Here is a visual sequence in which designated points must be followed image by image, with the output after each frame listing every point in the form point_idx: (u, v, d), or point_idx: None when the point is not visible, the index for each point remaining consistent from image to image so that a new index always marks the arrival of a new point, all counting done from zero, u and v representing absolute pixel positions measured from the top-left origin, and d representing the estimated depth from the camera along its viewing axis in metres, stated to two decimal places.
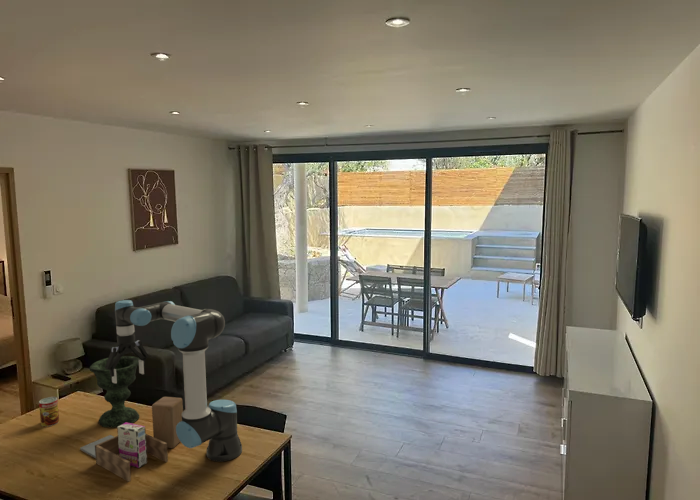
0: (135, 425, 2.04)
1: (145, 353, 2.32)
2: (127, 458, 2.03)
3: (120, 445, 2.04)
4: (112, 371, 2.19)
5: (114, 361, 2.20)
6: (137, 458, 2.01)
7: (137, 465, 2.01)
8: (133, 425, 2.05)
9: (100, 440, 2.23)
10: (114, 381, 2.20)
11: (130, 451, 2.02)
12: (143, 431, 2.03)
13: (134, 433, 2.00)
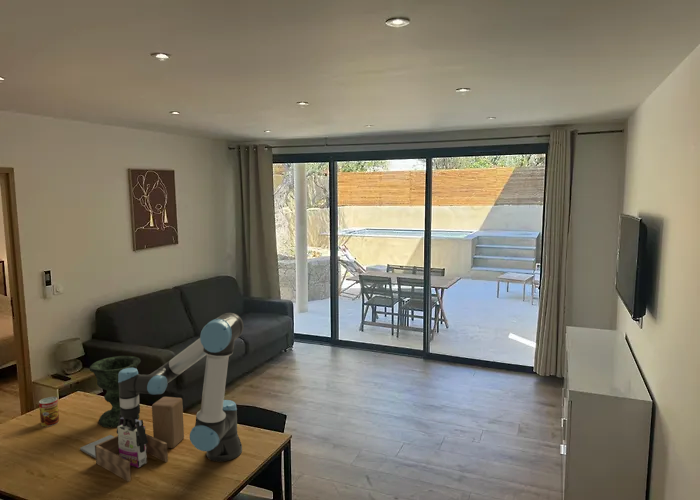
0: None
1: (140, 439, 1.99)
2: (127, 457, 2.03)
3: (120, 445, 2.04)
4: None
5: None
6: (137, 458, 2.01)
7: (137, 465, 2.01)
8: None
9: (100, 440, 2.23)
10: None
11: (130, 451, 2.02)
12: None
13: (134, 433, 2.00)
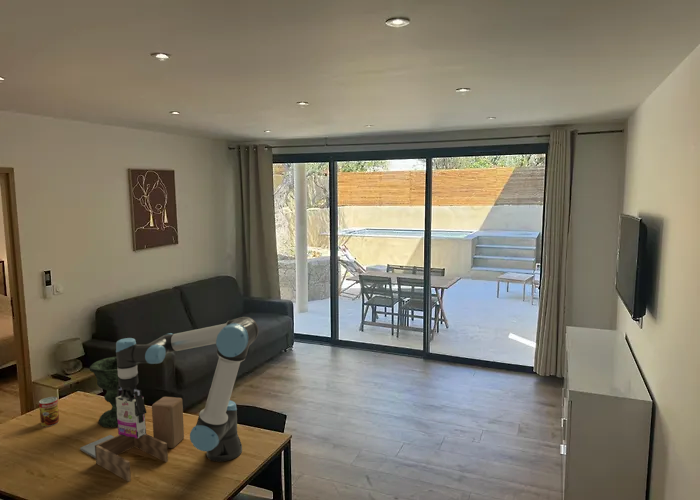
0: None
1: (138, 409, 1.97)
2: (125, 428, 2.02)
3: (119, 416, 2.03)
4: None
5: None
6: (136, 428, 2.00)
7: (136, 436, 2.00)
8: None
9: (100, 440, 2.23)
10: None
11: (129, 422, 2.01)
12: None
13: (132, 403, 1.99)
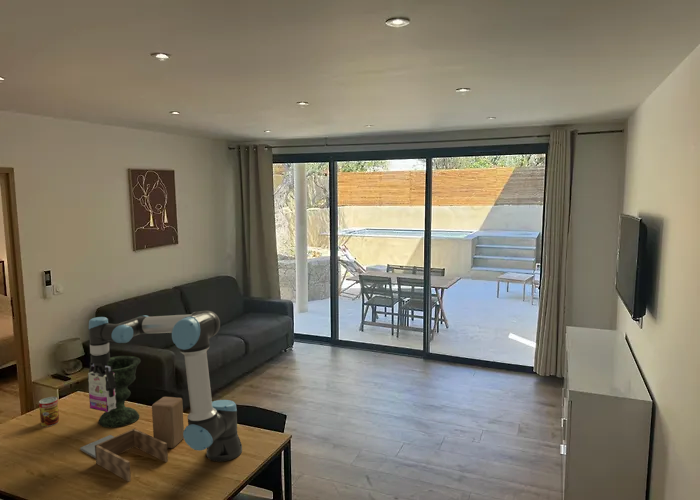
0: None
1: (109, 384, 2.08)
2: (97, 402, 2.13)
3: (90, 391, 2.13)
4: None
5: None
6: (106, 402, 2.10)
7: (106, 409, 2.11)
8: None
9: (100, 440, 2.23)
10: None
11: (100, 396, 2.11)
12: None
13: (103, 378, 2.10)
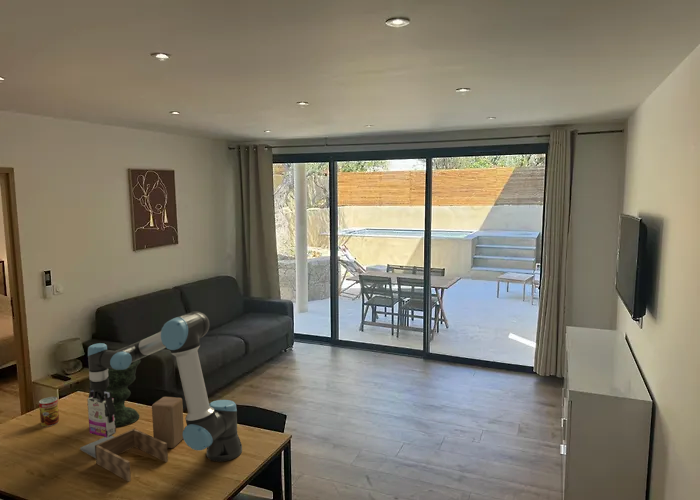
0: None
1: (108, 410, 2.11)
2: (96, 428, 2.15)
3: (90, 416, 2.16)
4: None
5: None
6: None
7: (105, 435, 2.14)
8: None
9: (100, 440, 2.23)
10: None
11: (99, 422, 2.14)
12: None
13: (102, 404, 2.12)
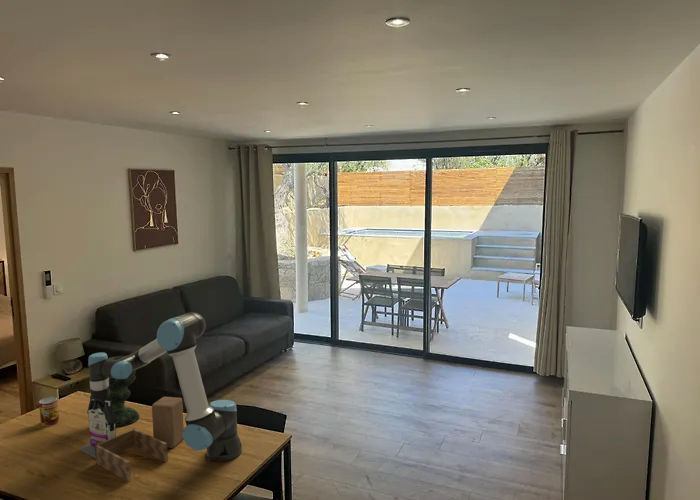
0: None
1: (109, 418, 2.11)
2: (97, 440, 2.16)
3: (91, 428, 2.17)
4: None
5: None
6: None
7: None
8: None
9: None
10: None
11: (100, 434, 2.15)
12: None
13: (103, 416, 2.13)
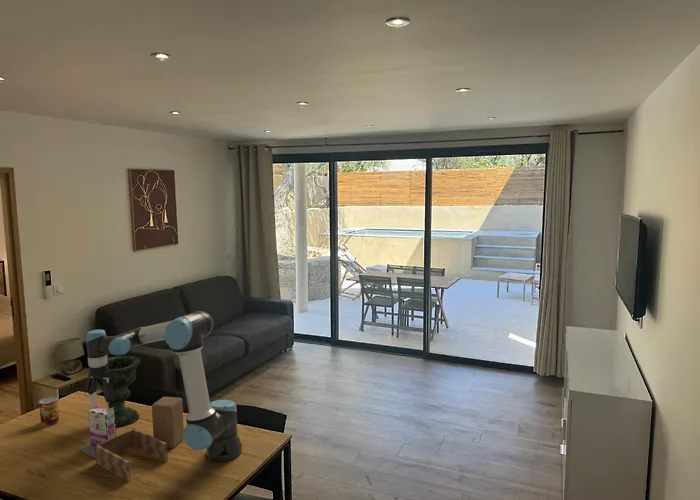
0: (105, 409, 2.17)
1: (108, 395, 2.10)
2: (97, 440, 2.16)
3: (91, 428, 2.17)
4: (90, 395, 2.20)
5: None
6: None
7: None
8: (103, 409, 2.18)
9: None
10: None
11: (100, 434, 2.15)
12: (112, 415, 2.16)
13: (103, 416, 2.13)
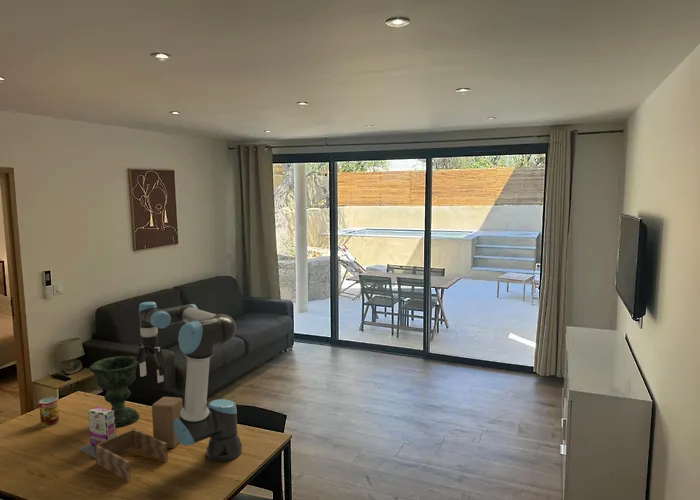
0: (105, 409, 2.18)
1: (159, 363, 2.22)
2: (97, 440, 2.16)
3: (91, 428, 2.17)
4: (140, 364, 2.32)
5: None
6: None
7: None
8: (103, 409, 2.18)
9: None
10: None
11: (100, 434, 2.15)
12: (112, 415, 2.16)
13: (103, 416, 2.13)
